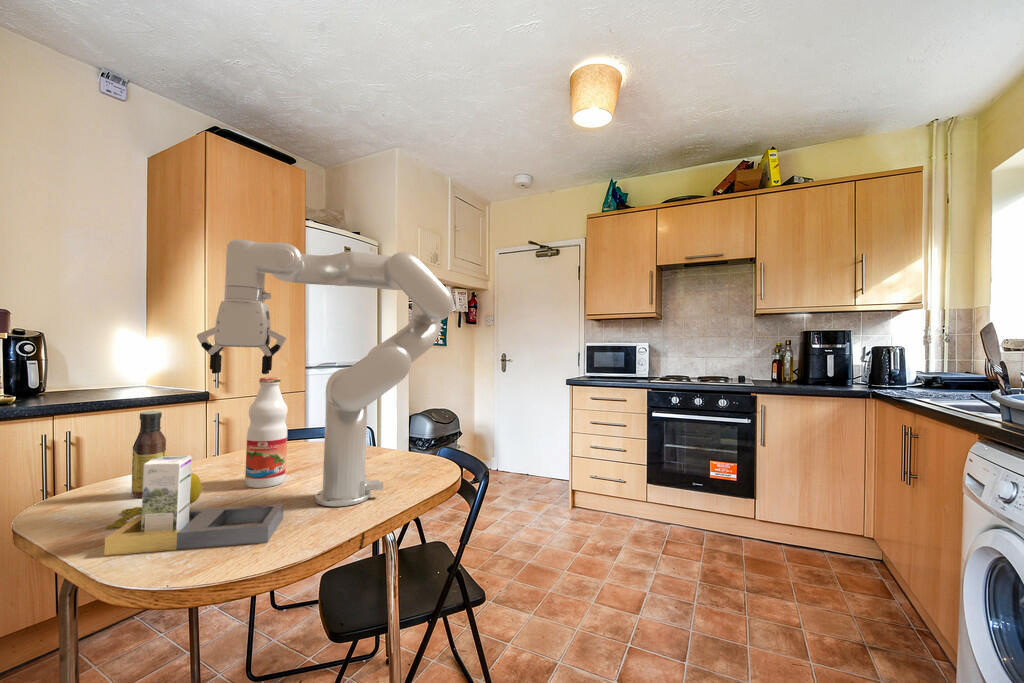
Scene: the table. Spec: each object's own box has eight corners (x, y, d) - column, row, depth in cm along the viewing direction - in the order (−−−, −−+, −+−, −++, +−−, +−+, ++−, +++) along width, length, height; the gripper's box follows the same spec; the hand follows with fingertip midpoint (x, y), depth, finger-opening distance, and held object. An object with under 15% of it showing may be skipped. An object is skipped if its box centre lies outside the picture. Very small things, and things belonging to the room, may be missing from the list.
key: (122, 524, 84) (92, 525, 83) (121, 530, 84) (91, 532, 83) (158, 503, 96) (132, 504, 95) (158, 509, 96) (132, 510, 95)
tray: (283, 517, 92) (283, 503, 92) (267, 542, 80) (268, 526, 80) (143, 527, 85) (143, 512, 85) (104, 555, 73) (105, 538, 73)
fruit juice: (290, 477, 120) (294, 377, 121) (278, 488, 111) (282, 379, 111) (253, 478, 118) (258, 376, 119) (238, 489, 109) (243, 378, 110)
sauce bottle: (144, 490, 106) (148, 409, 107) (171, 490, 107) (175, 410, 107) (123, 499, 100) (127, 413, 100) (151, 499, 100) (155, 414, 101)
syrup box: (190, 528, 85) (193, 454, 85) (175, 541, 79) (179, 461, 79) (155, 530, 83) (159, 455, 83) (138, 544, 77) (142, 463, 78)
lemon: (183, 513, 93) (185, 476, 93) (162, 510, 94) (164, 473, 94) (206, 504, 98) (208, 469, 98) (186, 502, 99) (188, 467, 99)
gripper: (291, 300, 102) (287, 373, 102) (206, 296, 97) (203, 371, 97) (283, 297, 95) (280, 375, 94) (192, 292, 90) (188, 373, 90)
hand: (241, 373), depth 96 cm, fingers open, 9 cm apart
